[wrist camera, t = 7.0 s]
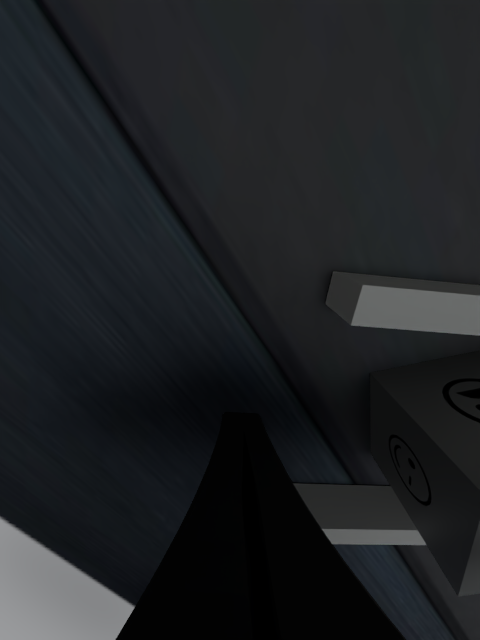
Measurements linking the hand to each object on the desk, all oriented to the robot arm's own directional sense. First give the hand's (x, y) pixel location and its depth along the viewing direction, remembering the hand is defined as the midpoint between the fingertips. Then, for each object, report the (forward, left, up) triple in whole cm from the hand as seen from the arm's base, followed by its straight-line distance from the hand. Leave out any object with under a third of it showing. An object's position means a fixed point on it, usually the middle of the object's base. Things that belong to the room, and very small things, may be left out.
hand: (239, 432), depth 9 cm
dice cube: (+1, -9, -2) cm, 9 cm away
